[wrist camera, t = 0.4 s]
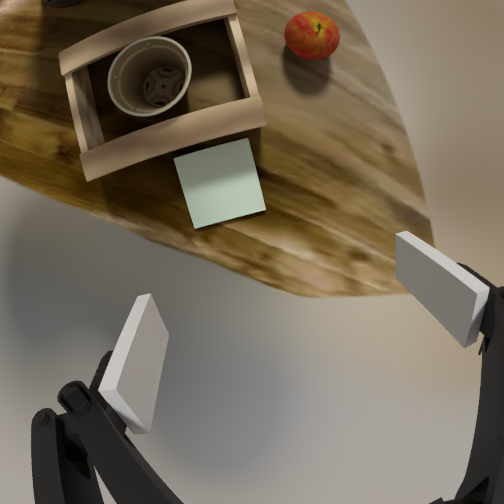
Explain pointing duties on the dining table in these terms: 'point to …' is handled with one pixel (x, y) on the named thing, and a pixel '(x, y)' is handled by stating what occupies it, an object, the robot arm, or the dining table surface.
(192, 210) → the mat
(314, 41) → the fruit
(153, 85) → the flower pot
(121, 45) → the crate
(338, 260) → the dining table surface
